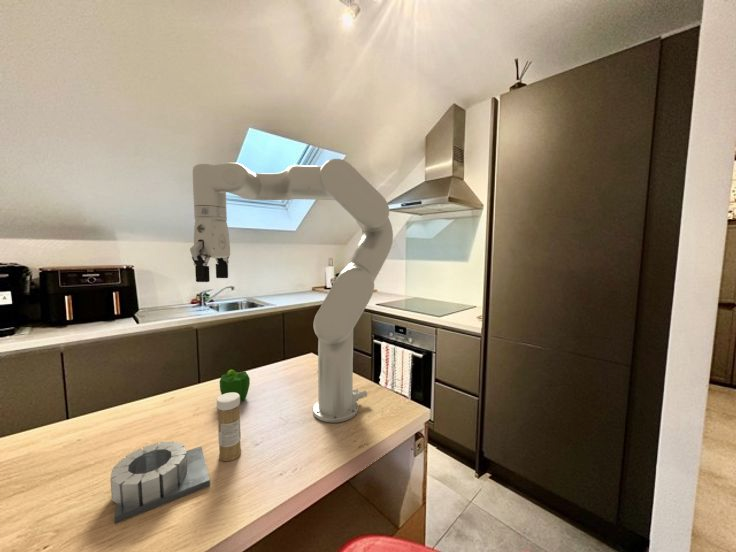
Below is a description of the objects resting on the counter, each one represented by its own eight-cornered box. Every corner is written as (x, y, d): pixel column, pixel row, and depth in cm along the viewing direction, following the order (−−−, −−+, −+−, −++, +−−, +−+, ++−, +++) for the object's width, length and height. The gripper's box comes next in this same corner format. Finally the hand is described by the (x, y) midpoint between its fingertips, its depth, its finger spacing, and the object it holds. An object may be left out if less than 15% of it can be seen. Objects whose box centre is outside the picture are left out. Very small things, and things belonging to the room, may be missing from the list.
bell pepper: (238, 391, 96) (237, 360, 95) (255, 398, 92) (254, 366, 91) (212, 403, 89) (211, 369, 88) (230, 410, 85) (229, 376, 84)
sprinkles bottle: (222, 449, 68) (220, 392, 67) (243, 447, 69) (242, 390, 68) (215, 463, 64) (213, 402, 63) (238, 461, 65) (236, 401, 63)
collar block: (201, 451, 68) (200, 429, 67) (209, 485, 58) (208, 460, 57) (116, 479, 59) (114, 454, 59) (109, 525, 49) (107, 496, 49)
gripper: (206, 210, 70) (209, 283, 72) (239, 218, 88) (241, 277, 89) (174, 210, 71) (178, 283, 72) (213, 217, 88) (215, 276, 89)
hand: (213, 279), depth 81 cm, fingers open, 9 cm apart
